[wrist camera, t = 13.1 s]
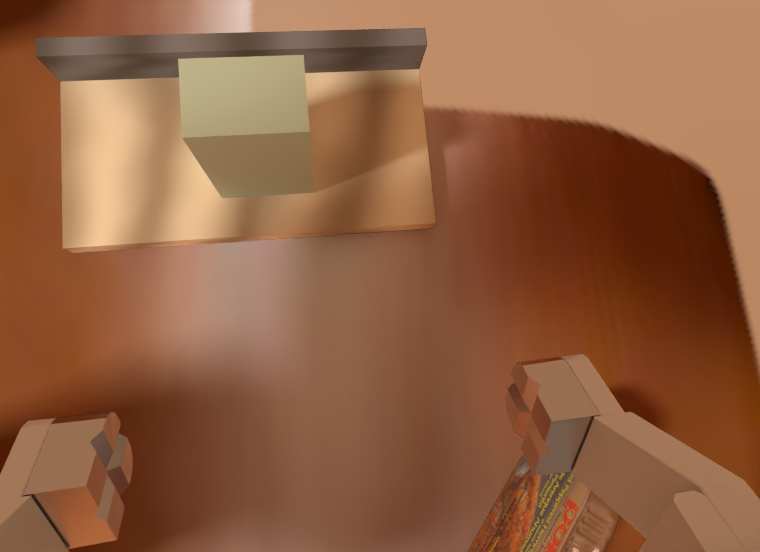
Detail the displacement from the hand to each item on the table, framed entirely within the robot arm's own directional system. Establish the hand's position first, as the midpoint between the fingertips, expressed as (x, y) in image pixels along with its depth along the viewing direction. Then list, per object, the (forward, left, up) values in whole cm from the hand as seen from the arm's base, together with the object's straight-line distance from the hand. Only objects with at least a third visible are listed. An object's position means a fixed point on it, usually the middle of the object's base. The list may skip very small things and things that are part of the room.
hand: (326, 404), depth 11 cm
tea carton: (-3, +14, -23) cm, 27 cm away
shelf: (-4, +16, -25) cm, 30 cm away
